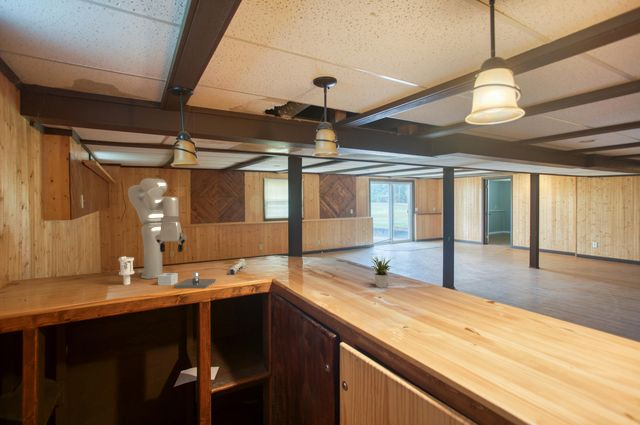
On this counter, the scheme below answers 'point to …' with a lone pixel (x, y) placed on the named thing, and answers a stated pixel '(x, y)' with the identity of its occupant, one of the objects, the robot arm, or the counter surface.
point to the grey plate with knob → (195, 282)
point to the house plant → (381, 272)
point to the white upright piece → (126, 268)
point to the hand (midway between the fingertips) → (171, 251)
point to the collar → (168, 279)
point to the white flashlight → (237, 267)
